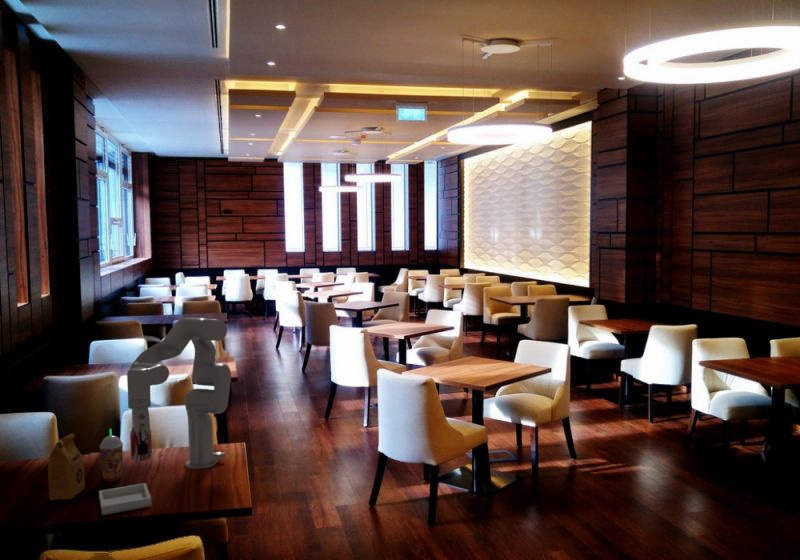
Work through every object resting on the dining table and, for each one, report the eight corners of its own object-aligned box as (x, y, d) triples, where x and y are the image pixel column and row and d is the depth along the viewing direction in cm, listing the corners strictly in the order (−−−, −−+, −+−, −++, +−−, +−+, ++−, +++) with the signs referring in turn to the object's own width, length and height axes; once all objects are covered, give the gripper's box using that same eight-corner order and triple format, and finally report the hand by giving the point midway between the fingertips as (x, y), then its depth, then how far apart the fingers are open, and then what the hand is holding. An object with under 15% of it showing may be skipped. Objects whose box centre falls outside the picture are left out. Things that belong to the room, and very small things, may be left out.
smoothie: (96, 480, 267) (94, 430, 265) (114, 473, 274) (112, 424, 273) (111, 484, 263) (108, 433, 261) (129, 477, 270) (126, 427, 269)
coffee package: (90, 489, 258) (87, 432, 257) (71, 502, 246) (68, 442, 244) (64, 488, 259) (61, 431, 257) (45, 502, 247) (41, 442, 245)
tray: (145, 490, 256) (145, 482, 256) (151, 506, 242) (151, 497, 242) (99, 498, 249) (98, 490, 249) (102, 515, 235) (101, 506, 235)
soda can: (131, 458, 249) (129, 425, 248) (151, 455, 251) (150, 423, 250) (131, 464, 242) (130, 430, 241) (152, 461, 245) (151, 428, 244)
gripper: (154, 406, 239) (156, 456, 241) (146, 396, 254) (148, 443, 256) (131, 409, 236) (133, 460, 237) (125, 398, 251) (127, 446, 252)
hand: (141, 450), depth 246 cm, fingers closed on soda can, 7 cm apart
